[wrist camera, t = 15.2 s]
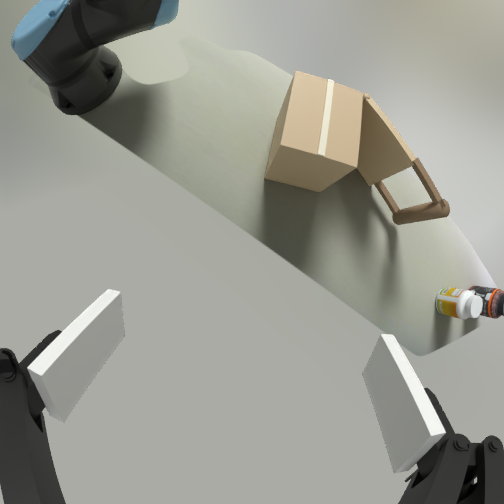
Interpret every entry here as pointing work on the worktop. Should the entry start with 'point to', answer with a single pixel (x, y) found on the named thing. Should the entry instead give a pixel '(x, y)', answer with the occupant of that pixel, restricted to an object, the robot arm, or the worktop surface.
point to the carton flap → (393, 164)
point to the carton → (315, 133)
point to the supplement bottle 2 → (490, 301)
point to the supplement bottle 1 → (458, 303)
